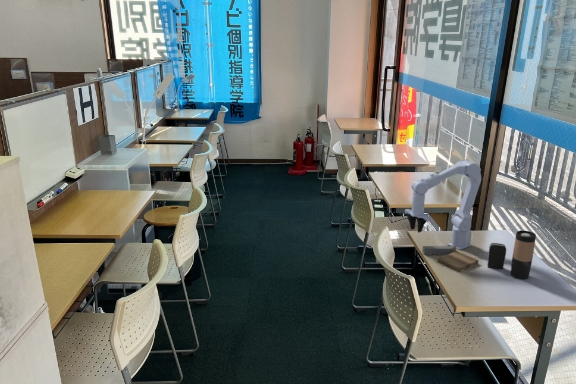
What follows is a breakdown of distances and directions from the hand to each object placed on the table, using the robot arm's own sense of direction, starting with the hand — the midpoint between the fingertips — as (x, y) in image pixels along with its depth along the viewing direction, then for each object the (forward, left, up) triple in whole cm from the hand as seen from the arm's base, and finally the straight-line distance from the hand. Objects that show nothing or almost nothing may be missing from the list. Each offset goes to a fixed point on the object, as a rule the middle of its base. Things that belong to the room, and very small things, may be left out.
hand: (416, 230), depth 220 cm
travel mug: (-15, +46, -10) cm, 49 cm away
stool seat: (-4, +22, -9) cm, 24 cm away
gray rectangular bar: (-3, +11, -9) cm, 14 cm away
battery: (-14, +35, -10) cm, 39 cm away
